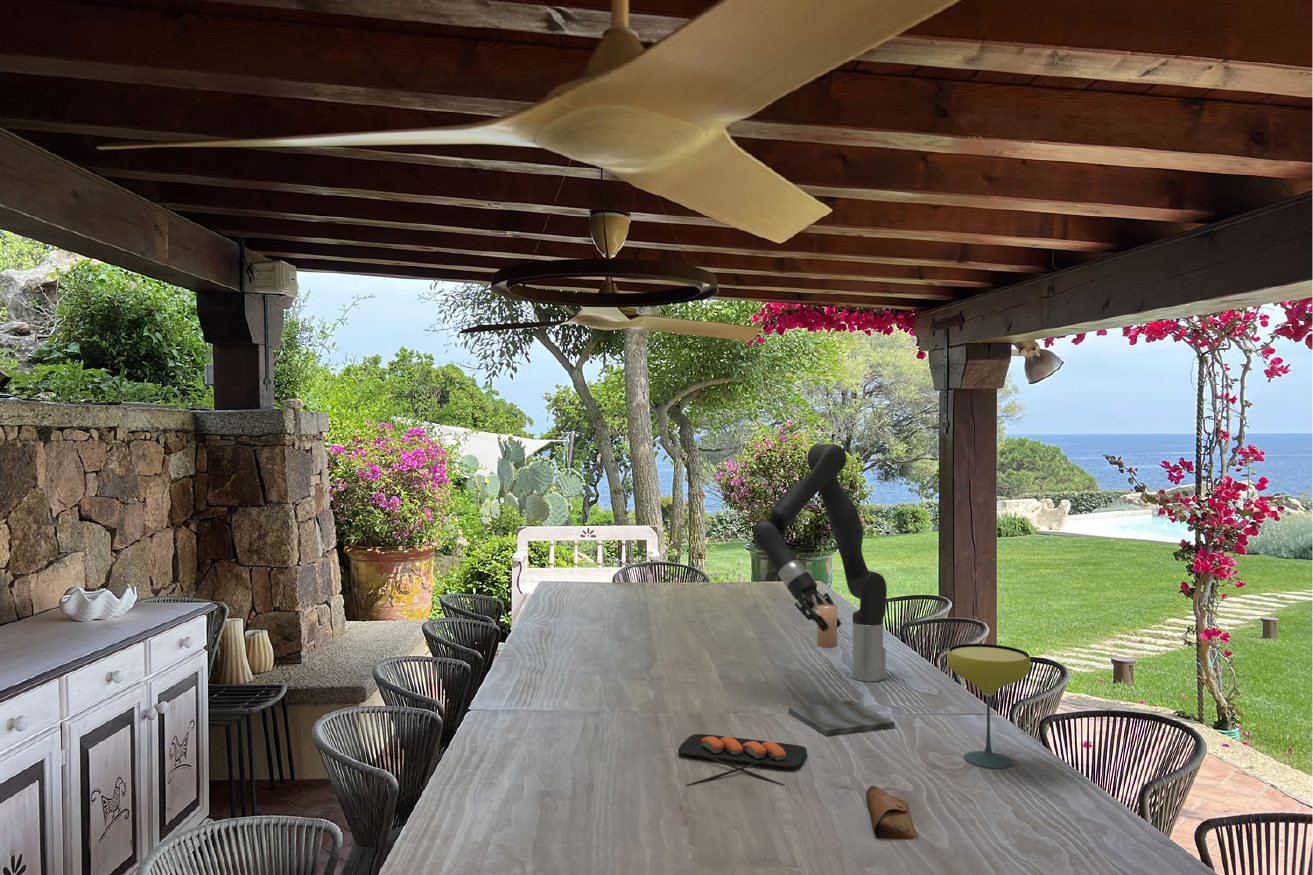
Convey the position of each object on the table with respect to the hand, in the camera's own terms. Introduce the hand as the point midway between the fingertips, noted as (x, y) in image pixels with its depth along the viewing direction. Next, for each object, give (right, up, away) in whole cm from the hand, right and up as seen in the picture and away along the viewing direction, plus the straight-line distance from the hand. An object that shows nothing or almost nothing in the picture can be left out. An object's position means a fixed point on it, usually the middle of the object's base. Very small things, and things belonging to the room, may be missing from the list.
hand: (832, 627), depth 248 cm
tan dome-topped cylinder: (-1, -5, +1) cm, 6 cm away
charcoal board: (0, -22, -11) cm, 25 cm away
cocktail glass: (+28, -22, -41) cm, 54 cm away
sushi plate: (-31, -23, -44) cm, 59 cm away
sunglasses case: (-3, -23, -73) cm, 76 cm away
